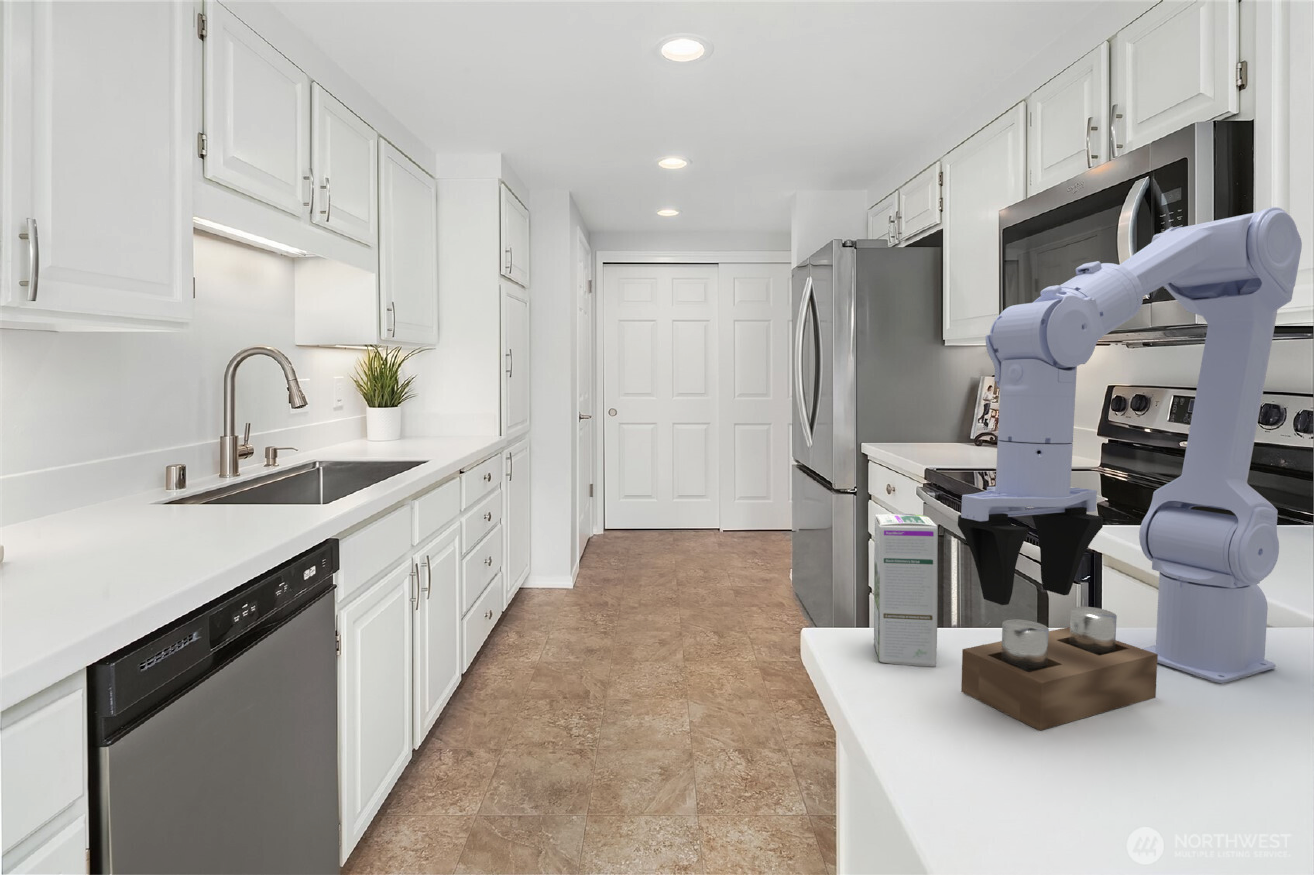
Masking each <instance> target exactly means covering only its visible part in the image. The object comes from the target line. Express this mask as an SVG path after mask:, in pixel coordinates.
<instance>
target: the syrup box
mask: <svg viewBox="0 0 1314 875" xmlns="http://www.w3.org/2000/svg"><path fill="white" fill-rule="evenodd" d="M938 528H939V527H938V525H937V524H936V523H935V522H934V521H933V520H932V519H931V518H930V517H929V516H928V515H924V514H915V513H914V514H913V513H885V514H884V513H883V514H875V515H874V542H873V544H874V546H873V548H874V552H873V553H874V554H873V555H874V556H873V557H874V558H873V560H874V561H873V562H874V565H873V566H874V574H873V575H874V579H873V580H874V582H873V595H874V596H873V644H874V647H875V652H876V655H877V658H878V662H880V663H884V664H890V665H891V664H892V665H901V666H903V665H904V666H915V667H916V666H917V667H933V668H934V667H937V662H938V661H937V660H938V659H937V656H938V654H937V653H938V652H937V648H938V646H937V645H938V584H939V583H938V580H939V579H938V573H939V572H938V541H939V537H938V535H939V534H938V531H939V529H938Z"/></svg>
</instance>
